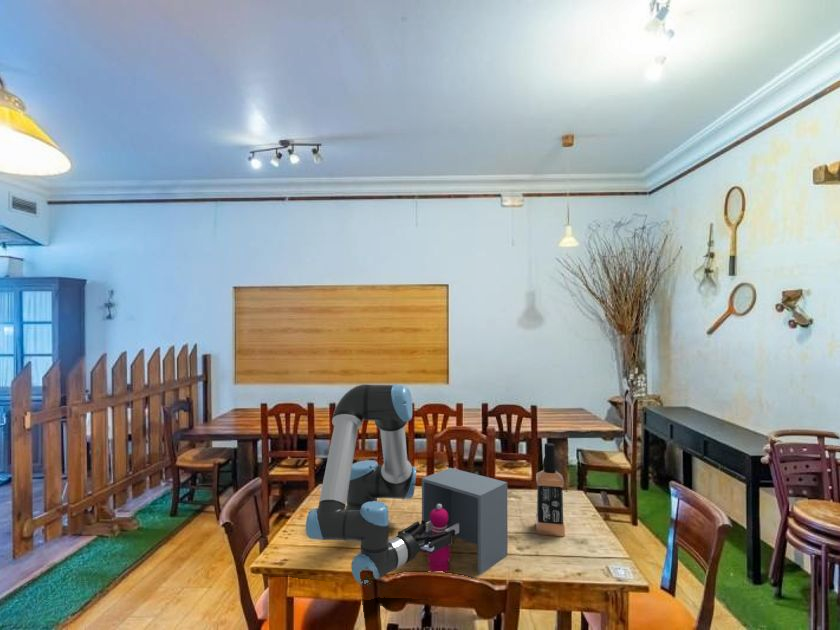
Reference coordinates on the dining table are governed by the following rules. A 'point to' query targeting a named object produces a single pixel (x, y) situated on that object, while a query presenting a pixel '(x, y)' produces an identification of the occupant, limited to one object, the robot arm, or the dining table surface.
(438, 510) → the pepper mill
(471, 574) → the dining table surface
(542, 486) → the whiskey bottle
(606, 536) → the dining table surface
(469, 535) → the cubby
